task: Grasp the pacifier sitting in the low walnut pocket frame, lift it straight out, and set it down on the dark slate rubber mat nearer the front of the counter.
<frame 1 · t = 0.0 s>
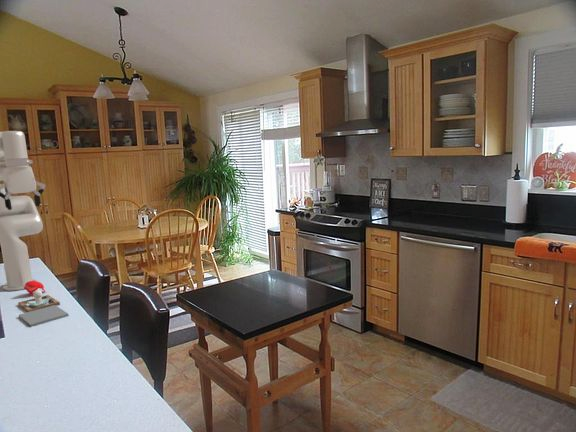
hand: (23, 207, 168), 37 cm above the counter, tool pointing down, fingers open, 9 cm apart
pacifier: (39, 305, 166), resting in pocket frame
slate mat: (43, 316, 153), on the counter
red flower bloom: (35, 294, 179), on the counter
pocket frame: (39, 304, 166), on the counter
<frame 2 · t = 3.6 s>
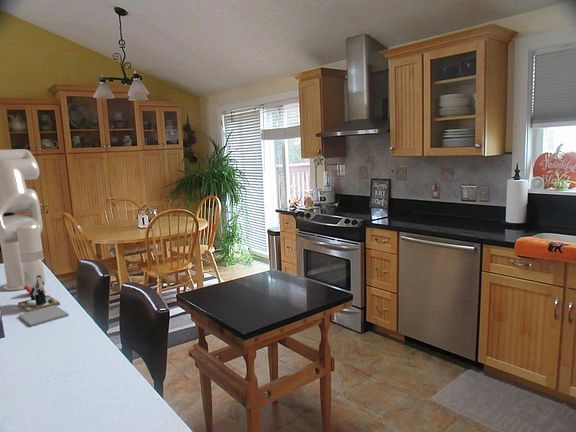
hand: (38, 301, 165), 1 cm above the counter, tool pointing down, fingers closed on pacifier, 5 cm apart
pacifier: (39, 304, 166), resting in pocket frame, touching gripper
everything else where it was.
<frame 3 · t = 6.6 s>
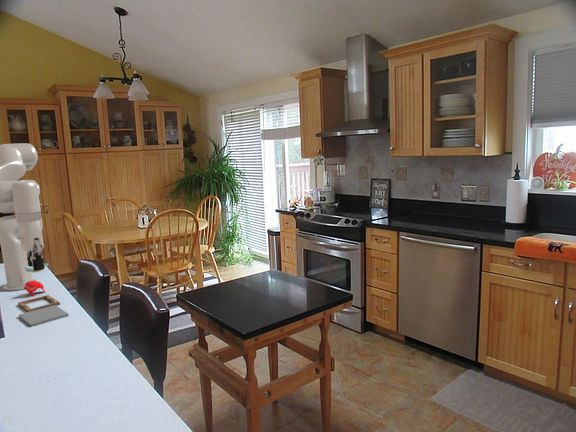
hand: (36, 268, 151), 18 cm above the counter, tool pointing down, fingers closed on pacifier, 5 cm apart
pacifier: (36, 271, 152), point 16 cm above the counter, touching gripper
everything else where it was.
when the fingers open (3 cm above the counter, at t = 9.7 s): pacifier drops 1 cm, resting on slate mat.
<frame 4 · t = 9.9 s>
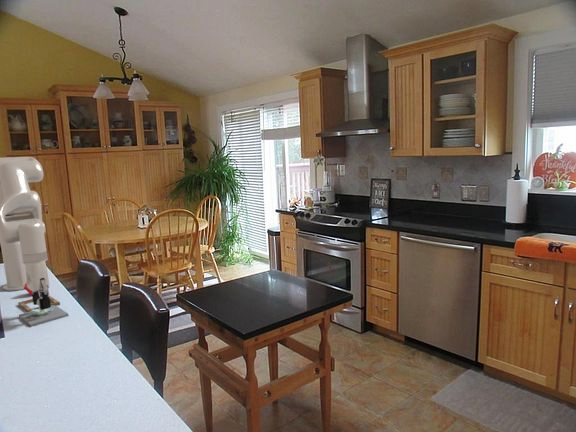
hand: (42, 305, 153), 4 cm above the counter, tool pointing down, fingers open, 7 cm apart
pacifier: (43, 314, 154), point 1 cm above the counter, touching slate mat
everything else where it was.
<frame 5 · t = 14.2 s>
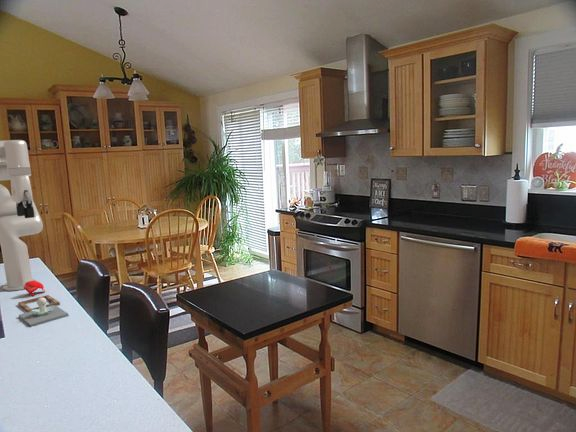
hand: (26, 216, 168), 33 cm above the counter, tool pointing down, fingers open, 9 cm apart
nothing on the counter moved.
at the end: pacifier inside the target area on the slate mat (0.9 cm from its centre), point 0.6 cm above the slate mat's base; the gripper is holding nothing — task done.
